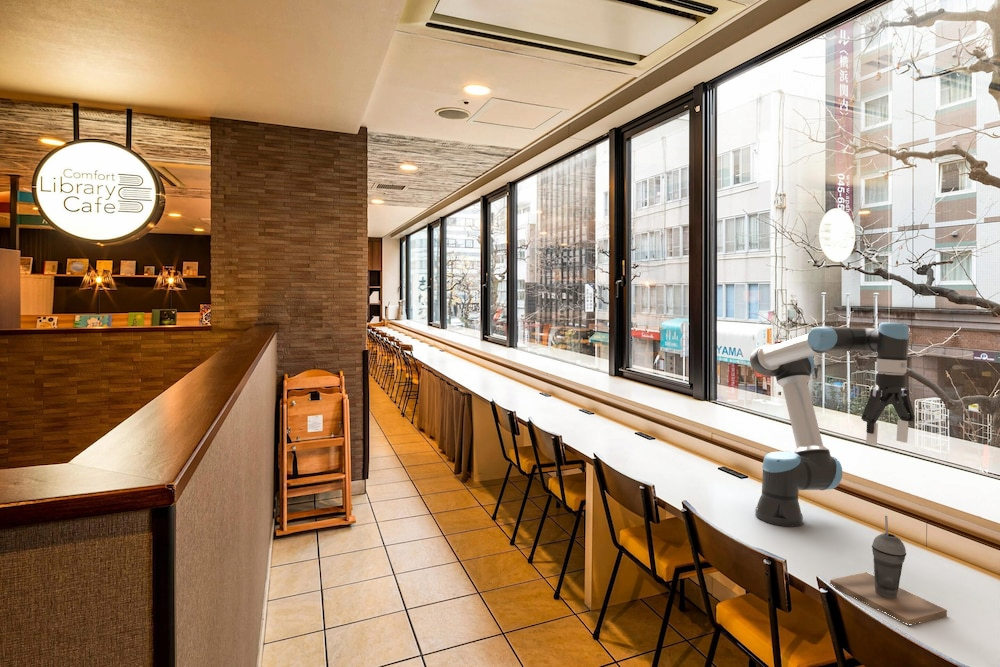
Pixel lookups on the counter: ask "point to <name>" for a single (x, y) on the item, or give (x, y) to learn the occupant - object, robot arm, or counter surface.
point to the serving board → (889, 600)
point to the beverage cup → (887, 563)
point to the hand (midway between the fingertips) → (886, 442)
